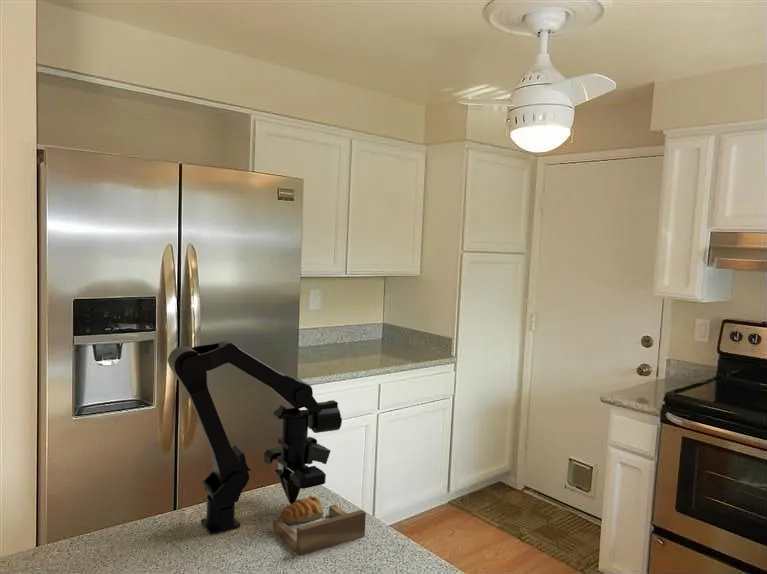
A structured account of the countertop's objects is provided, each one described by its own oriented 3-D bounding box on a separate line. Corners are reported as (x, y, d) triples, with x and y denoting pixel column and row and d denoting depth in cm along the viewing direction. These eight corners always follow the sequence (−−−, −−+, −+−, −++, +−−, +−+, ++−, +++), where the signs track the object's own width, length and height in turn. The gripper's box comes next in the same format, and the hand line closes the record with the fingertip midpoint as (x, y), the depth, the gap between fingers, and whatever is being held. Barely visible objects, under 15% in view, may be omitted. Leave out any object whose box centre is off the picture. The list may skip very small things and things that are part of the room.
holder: (273, 529, 122) (273, 506, 122) (334, 513, 131) (335, 491, 130) (299, 555, 112) (300, 530, 112) (364, 536, 121) (365, 512, 121)
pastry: (289, 530, 123) (290, 512, 122) (272, 518, 128) (273, 501, 127) (326, 517, 129) (326, 500, 129) (308, 507, 134) (309, 490, 134)
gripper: (347, 441, 128) (344, 511, 129) (306, 419, 143) (303, 481, 144) (302, 450, 121) (299, 523, 122) (263, 425, 136) (261, 491, 137)
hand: (292, 503), depth 131 cm, fingers closed
